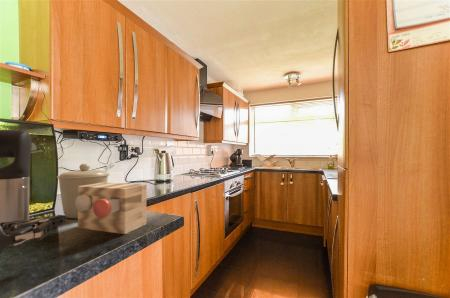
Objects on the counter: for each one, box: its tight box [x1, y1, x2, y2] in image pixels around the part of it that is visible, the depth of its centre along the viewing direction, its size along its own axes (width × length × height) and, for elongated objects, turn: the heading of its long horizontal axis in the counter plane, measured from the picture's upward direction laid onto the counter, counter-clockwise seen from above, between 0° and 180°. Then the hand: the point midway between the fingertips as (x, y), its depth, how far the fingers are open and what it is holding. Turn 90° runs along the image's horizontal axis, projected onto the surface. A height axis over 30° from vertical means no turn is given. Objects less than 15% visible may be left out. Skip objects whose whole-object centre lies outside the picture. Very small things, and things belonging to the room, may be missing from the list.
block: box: [77, 182, 147, 235], centre depth 74 cm, size 20×10×14 cm, turn 72°
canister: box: [56, 163, 111, 219], centre depth 88 cm, size 18×18×21 cm
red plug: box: [93, 198, 120, 218], centre depth 67 cm, size 5×9×5 cm, turn 162°
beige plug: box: [75, 194, 92, 211], centre depth 74 cm, size 5×9×5 cm, turn 162°
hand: (62, 219), depth 53 cm, fingers closed
